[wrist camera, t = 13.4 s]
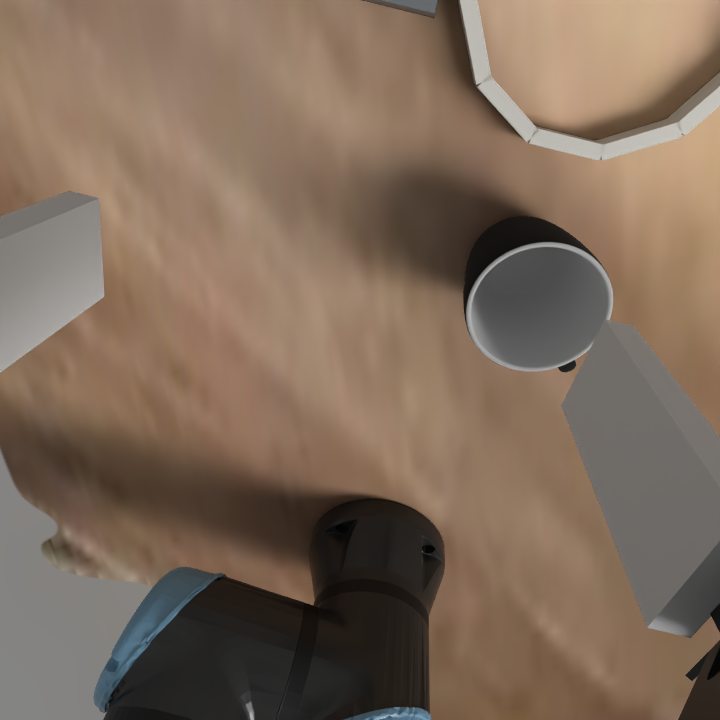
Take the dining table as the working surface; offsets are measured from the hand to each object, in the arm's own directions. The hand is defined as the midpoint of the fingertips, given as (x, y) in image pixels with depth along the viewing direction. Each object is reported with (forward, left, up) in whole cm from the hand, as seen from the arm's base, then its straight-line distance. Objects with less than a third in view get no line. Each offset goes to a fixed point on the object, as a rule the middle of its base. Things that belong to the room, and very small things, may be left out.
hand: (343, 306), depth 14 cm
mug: (-7, -12, -29) cm, 32 cm away
